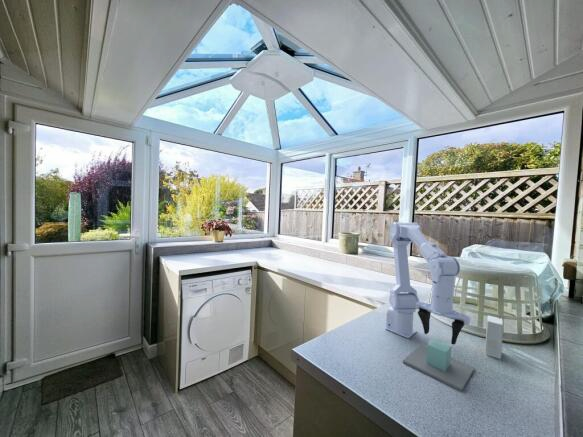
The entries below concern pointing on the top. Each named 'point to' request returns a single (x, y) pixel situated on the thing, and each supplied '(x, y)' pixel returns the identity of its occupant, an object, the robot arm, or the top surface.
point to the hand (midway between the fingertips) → (439, 337)
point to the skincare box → (494, 336)
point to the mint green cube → (438, 354)
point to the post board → (452, 376)
